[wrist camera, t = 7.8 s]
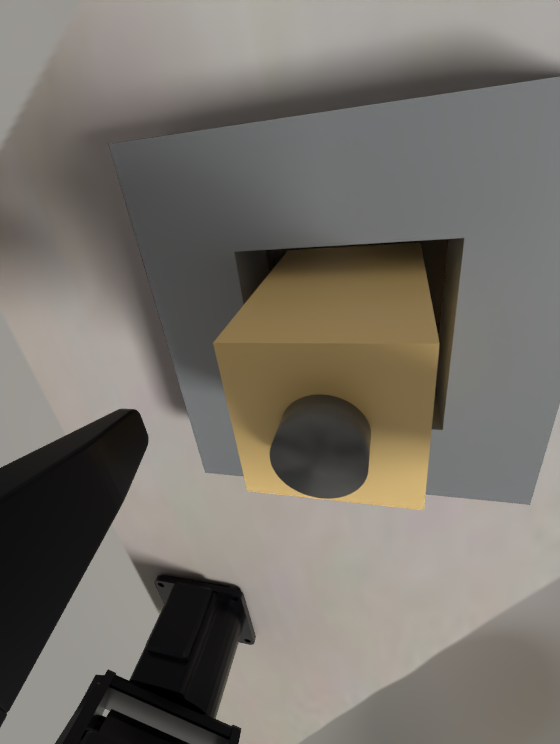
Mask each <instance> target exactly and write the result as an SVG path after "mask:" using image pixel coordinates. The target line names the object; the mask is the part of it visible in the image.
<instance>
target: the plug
mask: <svg viewBox="0 0 560 744" xmlns="http://www.w3.org/2000/svg"><path fill="white" fill-rule="evenodd" d="M213 345H214V349H215V354H216V358H217V362H218V367H219V371H220V375H221V380H222V384H223V388H224V393H225V397H226V401H227V406H228V410H229V414H230V418H231V423H232V427H233V431H234V436H235V440H236V444H237V449H238V453H239V457H240V462H241V466H242V470H243V475H244V479H245V483H246V488H247V491H251V492H260V493H270V494H279V495H288V496H297V497H306V498H315V499H325V500H334V501H343V502H352V503H361V504H371V505H380V506H389V507H398V508H407V509H416V510H424V505H425V494H426V483H427V473H428V462H429V452H430V441H431V430H432V420H433V409H434V398H435V388H436V377H437V367H438V356H439V345H440V343H439V338H438V333H437V327H436V322H435V317H434V312H433V306H432V301H431V296H430V290H429V285H428V280H427V275H426V269H425V264H424V259H423V254H422V248H421V243H405V244H388V245H371V246H355V247H338V248H321V249H304V250H288V251H287V252H286V253H285V255H284V256H283V257H282V258H281V260H280V261H279V262H278V263H277V265H276V266H275V267H274V268H273V269H272V271H271V272H270V273H269V274H268V276H267V277H266V278H265V279H264V281H263V282H262V283H261V284H260V285H259V287H258V288H257V289H256V290H255V292H254V293H253V294H252V295H251V297H250V298H249V299H248V300H247V302H246V303H245V304H244V305H243V306H242V308H241V309H240V310H239V311H238V313H237V314H236V315H235V316H234V318H233V319H232V320H231V321H230V322H229V324H228V325H227V326H226V327H225V329H224V330H223V331H222V332H221V334H220V335H219V336H218V337H217V339H216V340H215V341H214V342H213Z"/></svg>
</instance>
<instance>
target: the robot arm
mask: <svg viewBox="0 0 560 744" xmlns="http://www.w3.org/2000/svg"><path fill="white" fill-rule="evenodd" d="M147 446H148V434H147V431H146V428H145V426H144V423H143V420H142V418H141V415H140V413H139V412H138V411H137V410H135V409H119V410H116V411H114V412H112V413H110V414H108V415H106V416H104V417H102V418H100V419H98V420H96V421H94V422H92V423H90V424H88V425H86V426H84V427H82V428H80V429H78V430H76V431H74V432H72V433H70V434H68V435H66V436H64V437H62V438H60V439H58V440H56V441H54V442H52V443H50V444H48V445H46V446H44V447H42V448H40V449H38V450H35V451H33V452H31V453H29V454H28V455H25V456H23V457H22V458H19V459H17V460H15V461H13V462H11V463H9V464H7V465H5V466H3V467H1V468H0V727H1V725H2V723H3V721H4V720H5V718H6V716H7V712H8V711H9V710H10V708H11V706H12V705H13V703H14V701H15V699H16V697H17V695H18V694H19V692H20V690H21V688H22V686H23V684H24V683H25V681H26V679H27V677H28V675H29V673H30V671H31V670H32V668H33V666H34V664H35V663H36V660H37V659H38V657H39V655H40V653H41V652H42V650H43V648H44V646H45V644H46V642H47V641H48V639H49V637H50V635H51V633H52V631H53V630H54V628H55V626H56V624H57V622H58V621H59V619H60V617H61V615H62V613H63V611H64V609H65V608H66V606H67V604H68V602H69V601H70V598H71V597H72V595H73V593H74V591H75V590H76V588H77V586H78V584H79V582H80V580H81V579H82V577H83V575H84V573H85V571H86V570H87V567H88V566H89V564H90V562H91V560H92V559H93V557H94V555H95V553H96V551H97V549H98V548H99V546H100V544H101V542H102V540H103V539H104V536H105V535H106V533H107V531H108V529H109V527H110V526H111V524H112V522H113V520H114V518H115V517H116V515H117V513H118V511H119V509H120V507H121V505H122V503H123V501H124V499H125V497H126V495H127V493H128V491H129V488H130V486H131V483H132V481H133V479H134V476H135V474H136V472H137V469H138V467H139V465H140V462H141V460H142V458H143V455H144V453H145V451H146V448H147ZM154 583H155V585H156V588H157V590H158V592H159V594H160V596H161V598H162V600H163V602H164V604H165V605H164V607H163V609H162V611H161V613H160V615H159V617H158V620H157V622H156V624H155V626H154V628H153V630H152V633H151V634H150V637H149V639H148V641H147V643H146V646H145V648H144V650H143V653H142V655H141V657H140V659H139V661H138V663H137V665H136V667H135V670H134V672H133V674H132V676H131V678H130V681H128V680H126V679H124V678H122V677H119V676H117V675H116V673H115V672H113V671H110V670H107V672H106V674H105V675H95V677H94V679H93V681H92V683H91V684H90V686H89V689H88V690H87V692H86V694H85V696H84V698H83V699H82V701H81V703H80V705H79V706H78V708H77V710H76V711H75V713H74V715H73V716H72V718H71V719H70V721H69V722H68V724H67V726H66V727H65V729H64V730H63V732H62V733H61V735H60V737H59V738H58V740H57V741H56V743H55V744H238V743H239V738H240V733H241V728H239V727H237V726H235V725H232V726H230V725H228V724H226V723H223V722H221V721H219V720H216V715H217V712H218V709H219V705H220V702H221V699H222V695H223V692H224V689H225V685H226V682H227V679H228V675H229V672H230V669H231V665H232V662H233V659H234V655H235V652H236V649H237V645H238V642H240V643H245V644H250V645H252V644H254V642H255V638H256V636H255V632H254V629H253V625H252V622H251V619H250V615H249V612H248V608H247V605H246V601H245V598H244V595H243V593H242V592H241V591H240V590H238V589H235V588H229V587H224V586H218V585H213V584H207V583H202V582H196V581H190V580H185V579H179V578H174V577H168V576H162V575H159V576H158V577H157V578H156V580H155V582H154ZM105 709H107V710H110V712H109V714H108V715H107V717H104V716H102V714H103V711H104V710H105Z"/></svg>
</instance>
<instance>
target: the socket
mask: <svg viewBox="0 0 560 744" xmlns="http://www.w3.org/2000/svg"><path fill="white" fill-rule="evenodd" d="M108 145H109V148H110V152H111V155H112V159H113V162H114V165H115V169H116V172H117V175H118V179H119V182H120V186H121V189H122V192H123V196H124V199H125V203H126V206H127V209H128V213H129V216H130V219H131V223H132V226H133V230H134V233H135V236H136V240H137V243H138V247H139V250H140V253H141V257H142V260H143V263H144V267H145V270H146V274H147V277H148V280H149V284H150V287H151V290H152V294H153V297H154V301H155V304H156V307H157V311H158V314H159V318H160V321H161V324H162V328H163V331H164V334H165V338H166V341H167V345H168V348H169V351H170V355H171V358H172V362H173V365H174V368H175V372H176V375H177V378H178V382H179V385H180V389H181V392H182V395H183V399H184V402H185V406H186V409H187V412H188V416H189V419H190V422H191V426H192V429H193V433H194V436H195V439H196V443H197V446H198V450H199V453H200V456H201V460H202V463H203V466H204V470H205V473H215V474H225V475H235V476H244V475H243V470H242V466H241V462H240V457H239V453H238V449H237V444H236V440H235V436H234V431H233V427H232V423H231V418H230V414H229V410H228V406H227V401H226V397H225V393H224V388H223V384H222V380H221V375H220V371H219V367H218V362H217V358H216V354H215V349H214V345H213V342H214V341H215V340H216V339H217V337H218V336H219V335H220V334H221V332H222V331H223V330H224V329H225V327H226V326H227V325H228V324H229V322H230V321H231V320H232V319H233V318H234V316H235V315H236V314H237V313H238V311H239V310H240V309H241V308H242V306H243V305H244V304H245V303H246V302H247V300H248V299H249V298H250V297H251V295H252V294H253V293H254V292H255V290H256V289H257V288H258V287H259V285H260V284H261V283H262V282H263V281H264V279H265V278H266V277H267V276H268V274H269V268H268V260H267V253H266V250H271V249H288V248H305V247H322V246H338V245H355V244H372V243H388V242H405V241H422V240H438V239H448V248H447V258H446V269H445V280H444V290H443V301H442V312H441V322H440V333H439V343H440V345H439V356H438V367H437V377H436V388H435V398H434V409H433V420H432V430H431V441H430V452H429V462H428V473H427V483H426V494H428V495H438V496H448V497H458V498H468V499H478V500H488V501H498V502H508V503H519V504H529V505H530V503H531V499H532V496H533V492H534V489H535V486H536V482H537V479H538V475H539V472H540V469H541V465H542V462H543V458H544V455H545V451H546V448H547V445H548V441H549V438H550V434H551V431H552V428H553V424H554V421H555V417H556V414H557V410H558V407H559V404H560V76H559V77H552V78H546V79H539V80H532V81H526V82H519V83H512V84H506V85H499V86H492V87H486V88H479V89H472V90H466V91H459V92H452V93H446V94H439V95H432V96H425V97H419V98H412V99H405V100H399V101H392V102H385V103H379V104H372V105H365V106H359V107H352V108H345V109H339V110H332V111H325V112H319V113H312V114H305V115H299V116H292V117H285V118H279V119H272V120H265V121H259V122H252V123H245V124H239V125H232V126H225V127H219V128H212V129H205V130H199V131H192V132H185V133H179V134H172V135H165V136H159V137H152V138H145V139H138V140H132V141H125V142H118V143H112V144H108Z"/></svg>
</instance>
